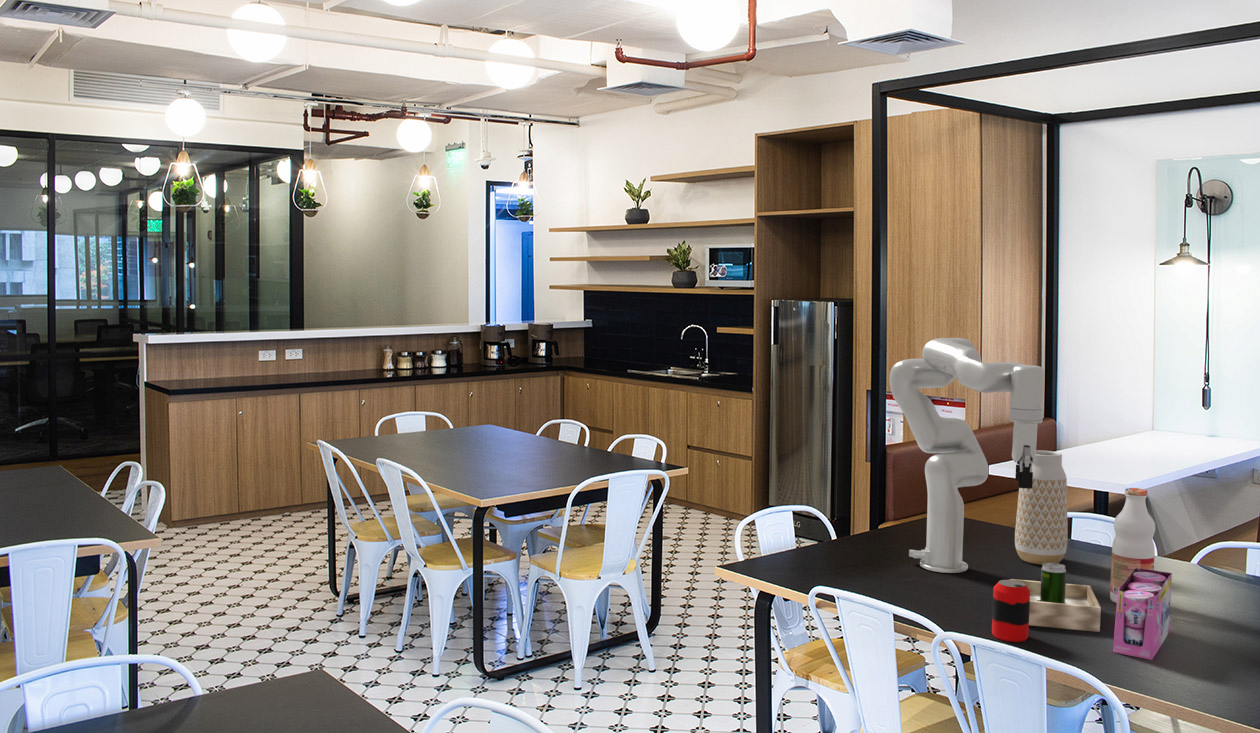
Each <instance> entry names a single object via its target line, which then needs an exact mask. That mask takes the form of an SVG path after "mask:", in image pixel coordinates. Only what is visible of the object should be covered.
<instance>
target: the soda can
mask: <svg viewBox="0 0 1260 733" xmlns="http://www.w3.org/2000/svg"><path fill="white" fill-rule="evenodd" d="M1029 608H1030V590H1029V589H1028V587H1027V586H1026V584H1025V583H1023V582H1020V581H1016V580H1010V579H1001V580H999V581H997V583H996V584H995V585H994V586H993V593H992V619H991V620H992V622H991V634H992V635H993V637H994V638H996V639H998V640H1001V641H1004V642H1010V643H1011V642H1012V643H1022V642H1025V641H1027V639H1028V638H1029V633H1030V631H1029V630H1030V628H1029V626H1030V625H1029Z"/></svg>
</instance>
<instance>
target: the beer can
mask: <svg viewBox="0 0 1260 733" xmlns="http://www.w3.org/2000/svg"><path fill="white" fill-rule="evenodd" d="M1066 569H1067V568H1066V565H1064V564H1062V563H1043V565H1042V567H1041V570H1040V571H1041V572H1040V574H1041V575H1040V582H1041V592H1040V602H1051V603H1062V604H1065V588H1066V584H1067V581H1066V580H1067V570H1066Z"/></svg>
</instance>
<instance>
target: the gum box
mask: <svg viewBox="0 0 1260 733" xmlns="http://www.w3.org/2000/svg"><path fill="white" fill-rule="evenodd" d="M1172 578H1173V573H1172V572H1167V571H1166V572H1165V571H1160V570H1155V569H1154V570H1148V569H1141V568H1135V569H1134V570H1133V571H1132V573H1131V574H1130V576H1129V577H1128V578H1127V579H1126V581H1125V582H1124V583H1123V584H1122V585H1121V586H1120V587H1119V589H1118V594H1117V603H1116V607H1115V608H1116V610H1115V624H1114V635H1113V649H1112V650H1113V651H1112V652H1113V653H1116V654H1121V655H1125V656H1130V657H1135V658H1140V659H1146V660H1150V661H1153V659H1154V658H1155V656H1156V655H1157V653H1158V651H1159V649H1160V648H1161V647H1162V645H1163V643H1164V642H1165V640H1166V638H1167V637H1168V634H1169V633H1170V624H1171V623H1170V621H1171V620H1170V619H1171V600H1172V599H1171V598H1172V597H1171V596H1172Z"/></svg>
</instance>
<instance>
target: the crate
mask: <svg viewBox="0 0 1260 733" xmlns="http://www.w3.org/2000/svg"><path fill="white" fill-rule="evenodd" d="M1009 580H1016V581H1020V582H1023V583H1025V584H1026V586H1027V587H1028V589H1029V590H1030V608H1029V626H1034V627H1035V626H1036V627H1045V628H1046V627H1047V628H1054V629H1065V630H1076V631H1084V632H1085V631H1086V632H1095V633H1096V632H1097V633H1100V631H1101V628H1100V627H1101V615H1102V614H1101V610H1102V609H1101V606H1100V605H1101V604H1100V603H1099V602H1098V599H1097V597H1096V595H1095V593H1094V592H1093V589H1092V587H1091V585H1087V584H1075V583H1074V584H1073V583H1066V588H1065V604H1062V603H1051V602H1040V592H1041V580H1040V581H1038V580H1028V579H1017V578H1016V579H1015V578H1010V579H1009Z"/></svg>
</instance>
